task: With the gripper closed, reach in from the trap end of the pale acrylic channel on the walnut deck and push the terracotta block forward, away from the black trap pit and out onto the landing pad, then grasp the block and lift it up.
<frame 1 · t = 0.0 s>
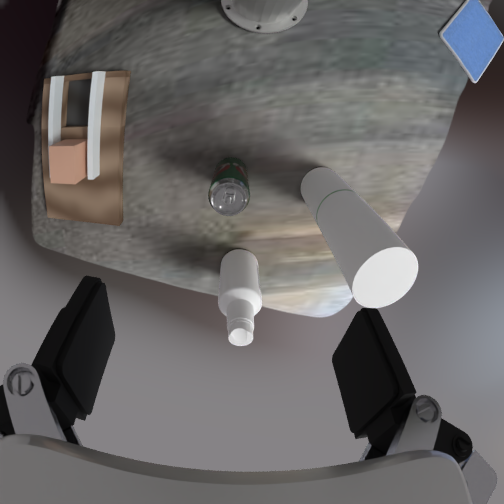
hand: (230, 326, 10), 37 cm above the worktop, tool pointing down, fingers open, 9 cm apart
white bottle: (239, 263, 53), on the worktop
block: (77, 156, 38), point 2 cm above the worktop, touching deck
tablet computer: (472, 35, 28), on the worktop
cylindrical container: (321, 187, 46), on the worktop
deck: (82, 148, 39), on the worktop
channel: (73, 125, 34), on the deck, point 3 cm above the worktop
soda can: (231, 171, 44), on the worktop
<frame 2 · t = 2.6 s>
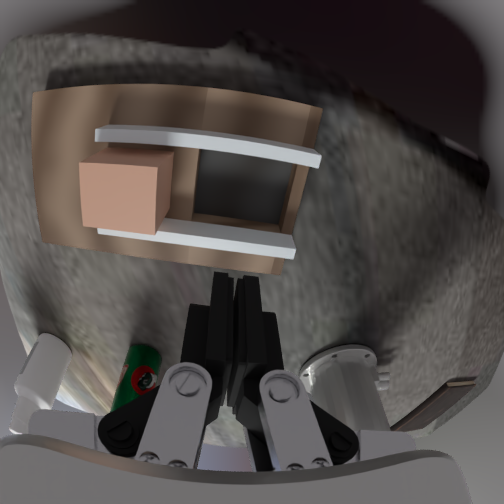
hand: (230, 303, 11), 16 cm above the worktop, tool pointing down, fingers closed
white bottle: (56, 345, 37), on the worktop
block: (138, 177, 22), point 2 cm above the worktop, touching deck
deck: (155, 171, 24), on the worktop
hardcover book: (431, 404, 57), on the worktop
channel: (198, 188, 22), on the deck, point 3 cm above the worktop
soda can: (145, 352, 37), on the worktop
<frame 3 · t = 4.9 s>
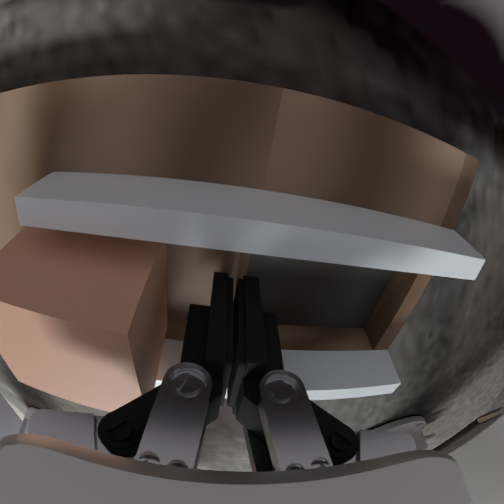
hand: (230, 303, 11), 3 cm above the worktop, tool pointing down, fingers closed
block: (101, 274, 11), point 2 cm above the worktop, touching deck, gripper
deck: (158, 255, 13), on the worktop
hardcover book: (456, 435, 47), on the worktop
channel: (256, 315, 11), on the deck, point 3 cm above the worktop
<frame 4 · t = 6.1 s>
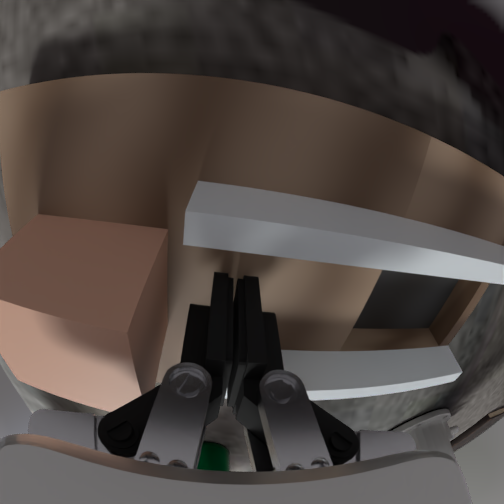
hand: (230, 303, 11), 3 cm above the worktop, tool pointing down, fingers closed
block: (101, 272, 11), point 2 cm above the worktop, touching deck, gripper
deck: (279, 270, 14), on the worktop
hardcover book: (467, 431, 48), on the worktop
channel: (383, 322, 12), on the deck, point 3 cm above the worktop
soda can: (207, 445, 27), on the worktop
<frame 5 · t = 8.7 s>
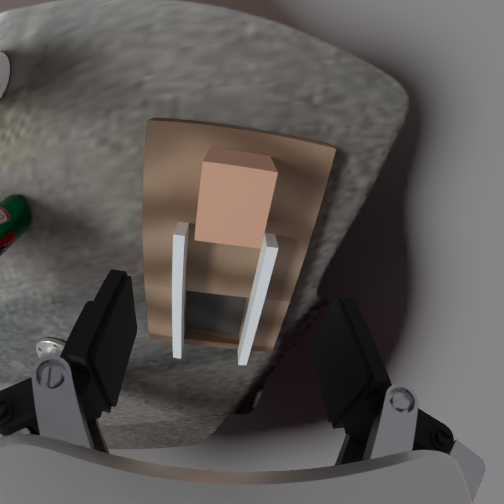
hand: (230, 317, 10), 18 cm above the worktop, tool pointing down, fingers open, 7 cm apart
block: (234, 184, 24), point 2 cm above the worktop, touching deck
deck: (222, 252, 30), on the worktop
channel: (216, 305, 29), on the deck, point 3 cm above the worktop
soda can: (20, 211, 26), on the worktop
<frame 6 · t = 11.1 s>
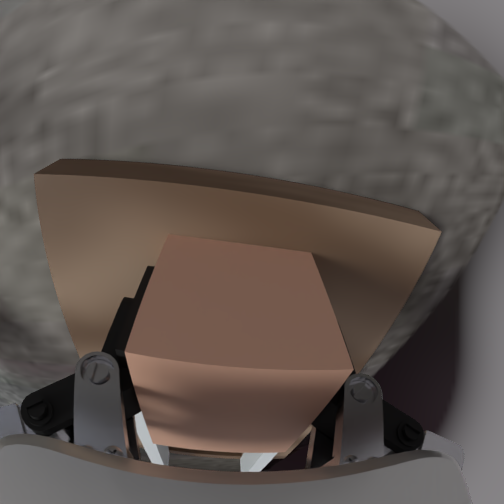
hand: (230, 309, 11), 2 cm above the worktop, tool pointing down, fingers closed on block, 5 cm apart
block: (229, 307, 11), point 2 cm above the worktop, touching deck, gripper
deck: (214, 376, 17), on the worktop
channel: (208, 442, 17), on the deck, point 3 cm above the worktop
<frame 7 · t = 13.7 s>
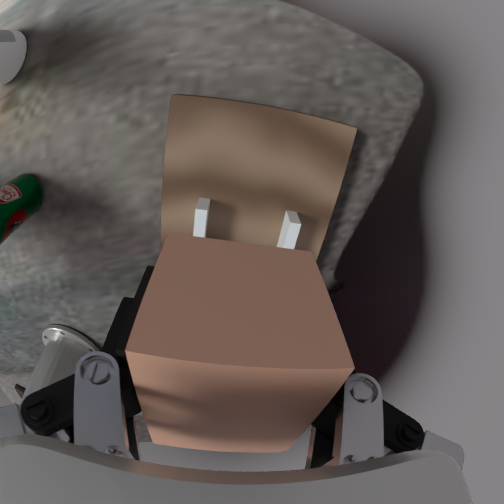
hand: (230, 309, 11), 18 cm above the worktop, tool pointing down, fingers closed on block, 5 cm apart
white bottle: (9, 57, 16), on the worktop
block: (230, 307, 11), point 18 cm above the worktop, touching gripper
deck: (241, 231, 30), on the worktop
channel: (234, 285, 29), on the deck, point 3 cm above the worktop
soda can: (31, 191, 26), on the worktop
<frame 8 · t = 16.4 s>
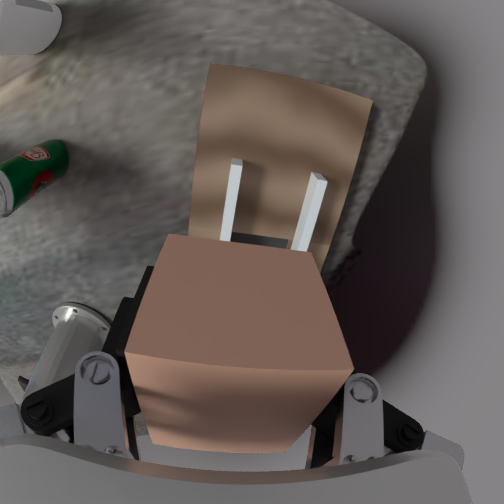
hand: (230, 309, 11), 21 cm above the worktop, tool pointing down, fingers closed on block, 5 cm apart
white bottle: (42, 29, 17), on the worktop
block: (229, 307, 11), point 21 cm above the worktop, touching gripper
deck: (267, 195, 31), on the worktop
channel: (262, 245, 30), on the deck, point 3 cm above the worktop
soda can: (55, 158, 27), on the worktop
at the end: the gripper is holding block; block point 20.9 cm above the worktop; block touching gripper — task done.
